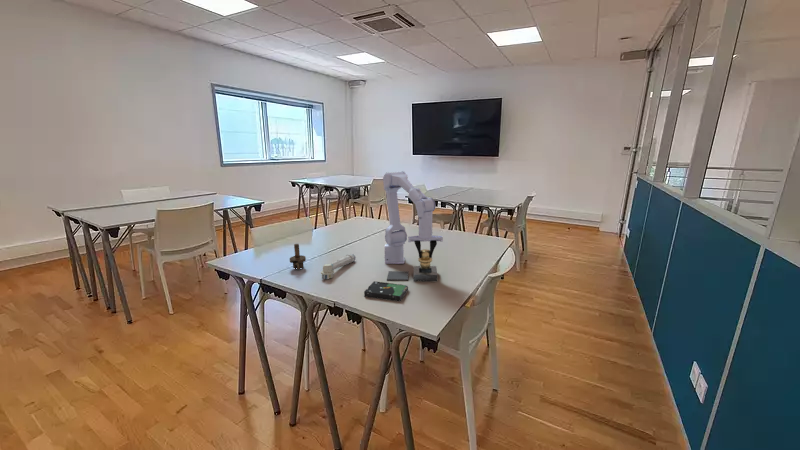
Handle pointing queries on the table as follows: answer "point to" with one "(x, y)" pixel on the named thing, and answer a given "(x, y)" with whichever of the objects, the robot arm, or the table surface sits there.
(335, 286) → the table surface
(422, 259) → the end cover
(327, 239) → the table surface
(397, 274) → the mat
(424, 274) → the housing
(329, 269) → the toothbrush head
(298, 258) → the industrial component
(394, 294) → the disk drive
